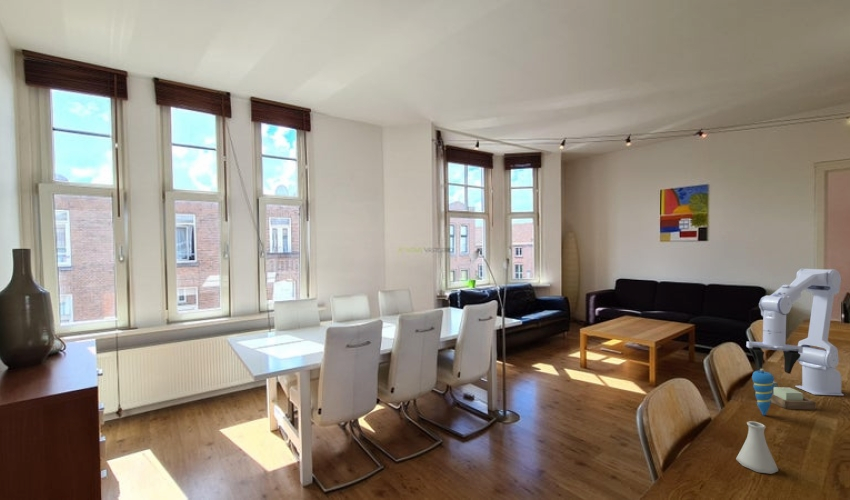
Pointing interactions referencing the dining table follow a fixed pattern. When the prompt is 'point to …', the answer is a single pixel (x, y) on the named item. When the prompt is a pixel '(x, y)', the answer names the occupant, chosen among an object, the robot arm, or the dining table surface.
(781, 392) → the sage block
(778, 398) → the frame
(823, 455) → the dining table surface
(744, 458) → the flask
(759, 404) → the ornament
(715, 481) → the dining table surface
